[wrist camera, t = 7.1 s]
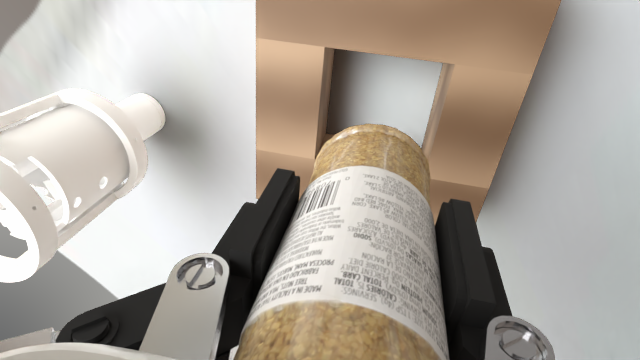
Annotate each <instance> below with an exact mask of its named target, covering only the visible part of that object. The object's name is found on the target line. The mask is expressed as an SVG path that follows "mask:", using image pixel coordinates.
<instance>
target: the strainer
mask: <svg viewBox="0 0 640 360" xmlns="http://www.w3.org/2000/svg"><path fill="white" fill-rule="evenodd" d="M27 117H28V119H27V121H24V122H22V123H20V124H17V125H15V126H13V127H10V128H8V129H6V130H3V131H1V132H0V222H1V223H2V224H3V226H4V227H8V229H9V230H10V231H11V232H12V233H11V234H10V235H12V236H14V237H17V238H20V239H24V240H26V241H27V244H28V251H27V252H25V253H24V254H23V255H22V256H20V257H19V258H17V259H14V258H8V257H5V256H1V255H0V281H1V282H18V281H22V280H25V279H27V278H29V277H30V276H31V275H32V274H34V273H35V272H36V271H37V270H38V269H40V268H41V267H42V266H43V265H44V264H45V263H47V262H48V261H49V260H50V259H51V258H52V257H53V256H54V254H55V252H56V250H57V249H59V248H60V247H61V246H62V245H63V244H65V243H66V242H67V241H68V240H69V239H71V238H72V237H73V236H74V235H75V234H76V233H78V232H79V231H80V230H81V229H82V228H84V227H85V226H86V225H87V224H88V223H90V222H91V221H92V220H93V219H94V218H96V217H97V216H98V215H99V214H100V213H101V212H103V211H104V210H105V209H106V208H107V207H109V206H110V205H111V204H112V203H113V202H115V201H116V200H117V199H119V198H121V197H123V196H125V195H126V194H128V193H129V192H130V191H131V190H132V189H134V188H135V187H136V186H137V185H138V184H139V183H140V182H141V181H142V180H143V178H144V176H145V174H146V171H147V166H148V156H147V150H146V147H145V144H144V141H145V140H146V139H147V138H149V137H150V136H152V135H153V134H155V133H156V132H158V131H159V130H161V129H162V128H163V126H164V124H165V113H164V110H163V108H162V107H161V105H160V104H159V103H158V101H157V100H155V99H154V98H153V97H151V96H149V95H147V94H143V93H137V94H134V95H132V96H130V97H128V98H127V99H125V100H123V101H121V102H119V103H117V104H114V103H112V102H111V101H109V100H108V99H106V98H104V97H103V96H101V95H99V94H96V93H94V92H91V91H88V90H84V89H76V88H71V89H64V90H61V91H58V92H56V93H53V94H50V95H48V96H45V97H42V98H40V99H37V100H35V101H32V102H29V103H27V104H24V105H22V106H19V107H16V108H14V109H11V110H9V111H6V112H3V113H1V114H0V129H1V128H3V127H6V126H8V125H10V124H13V123H15V122H17V121H20V120H22V119H25V118H27ZM127 177H128V180H127V182H126V183H125V184H124V182H123V181H124V180H125V179H126V178H127ZM30 184H31V185H32V186H33V187H41V188H43V189H44V190H45V191H46V195H45V197H47V198H49V199H50V200H52V201H54V202H52V203H51V204H49V205H48V206H46V205H45V203H44V202H43V200H42V199H41V197H40V196H39V195H38V194H37V192H36V191H35V190H34V189H33V188H32V187H31V185H30Z"/></svg>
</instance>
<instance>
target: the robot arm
mask: <svg viewBox="0 0 640 360" xmlns="http://www.w3.org/2000/svg"><path fill="white" fill-rule="evenodd" d="M299 192H300V176H295V171H292V170H286V169H281V168H277V169H276V171H275V173H274V174H273V176H272V178H271V179H270V181H269V183H268V184H267V186H266V188H265V189H264V191H263V193H262V194H261V196H260V198H259V199H258V201H257V203H256V204H254V203H249V202H246V203H244V205H243V206H242V207H241V209H240V211H239V212H238V214H237V215H236V217H235V218H234V220H233V221H232V223H231V224H230V226H229V227H228V229H227V231H226V232H225V234H224V235H223V237H222V238H221V240H220V241H219V243H218V244H217V246H216V248H215V249H214V251H213V252H212V254H210V253H198V254H194V255H191V256H188V257H186V258H184V259H182V260H181V261H179V262H178V263H177V264H176V265H175V266H174V268H173V269H172V271H171V273H170V275H169V278H168V280H167V283H164V284H161V285H158V286H156V287H153V288H150V289H147V290H145V291H142V292H139V293H136V294H133V295H131V296H128V297H125V298H122V299H120V300H117V301H114V302H111V303H109V304H106V305H103V306H101V307H98V308H95V309H92V310H90V311H87V312H85V313H83V314H81V315H78V316H77V317H75V318H74V319H72V320H71V321H70V322H68V323H67V324H66V325H65V327H64V328H63V329H62V330H60V331H56V332H54V329H53V328H48V329H44V330H40V331H36V332H33V333H29V334H25V335H21V336H17V337H14V338H9V339H6V340H2V341H0V360H233V359H234V357H235V354H236V351H237V349H238V347H239V341H240V337H241V332H242V330H243V328H244V325H245V323H246V321H247V318H248V316H249V314H250V311H251V309H252V307H253V304H254V302H255V300H256V297H257V295H258V293H259V290H260V288H261V286H262V284H263V281H264V279H265V276H266V274H267V272H268V269H269V267H270V265H271V263H272V260H273V258H274V256H275V254H276V252H277V250H278V247H279V245H280V243H281V240H282V238H283V236H284V233H285V231H286V229H287V227H288V224H289V222H290V220H291V218H292V215H293V213H294V211H295V208H296V206H297V204H298V202H299ZM435 232H436V242H437V249H438V258H439V267H440V276H441V286H442V296H443V305H444V315H445V324H446V333H447V342H448V351H449V360H555V355H554V351H553V348H552V346H551V344H550V342H549V341H548V339H547V338H546V337H545V336H544V335H543V334H542V333H541V332H540V331H539V330H538V329H537V328H536V327H534V326H533V325H531V324H530V323H528V322H526V321H524V320H522V319H520V318H516V317H512V313H511V310H510V307H509V303H508V300H507V296H506V293H505V290H504V286H503V283H502V279H501V276H500V272H499V269H498V266H497V262H496V259H495V255H494V253H493V250H492V249H491V248H486V247H482V246H481V242H480V238H479V234H478V230H477V226H476V222H475V218H474V214H473V211H472V207H471V203H470V202H468V201H462V200H457V199H450V200H449V202H448V203H447V202H443V203H442V205H441V208H440V211H439V214H438V217H437V221H436V224H435Z"/></svg>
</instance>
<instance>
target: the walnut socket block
mask: <svg viewBox="0 0 640 360" xmlns="http://www.w3.org/2000/svg"><path fill="white" fill-rule="evenodd" d="M560 3H561V0H256V199H259V198H260V196H261V194H262V193H263V191H264V189H265V188H266V186H267V184H268V183H269V181H270V179H271V178H272V176H273V174H274V173H275V171H276V169H277V168H281V169H286V170H292V171H295V176H300V192H299V200H300V198H301V196H302V194H303V192H304V191H305V190H306V188H307V187H308V184H309V182H310V179H311V176H312V174H313V170H314V164H315V160H316V158H317V155H318V154H319V152H320V150H321V148H322V147H323V145H324V144H325V143H326V142H327V141H328V140H330V139H331V138H332V137H333V136H334V135H333V134H327V133H326V128H327V118H328V109H329V99H330V90H331V80H332V70H333V61H334V51H335V48H336V49H343V50H351V51H358V52H366V53H373V54H381V55H388V56H396V57H404V58H411V59H419V60H426V61H434V62H441V63H443V66H442V70H441V73H440V77H439V81H438V85H437V89H436V93H435V97H434V101H433V105H432V109H431V113H430V117H429V121H428V124H427V128H426V132H425V136H424V140H423V144H422V148H421V150H422V152H423V153H424V155H425V156H426V158H427V159H428V163H429V170H430V176H431V181H430V189H429V196H430V206H431V211H432V214H433V218H434V224H436V221H437V217H438V214H439V211H440V208H441V205H442V203H443V202H447V203H448V202H449V200H450V199H457V200H462V201H468V202H470V203H471V207H472V211H473V214H474V218H475V222H476V221H477V219H478V216H479V213H480V211H481V208H482V206H483V203H484V200H485V198H486V195H487V193H488V190H489V187H490V185H491V182H492V180H493V177H494V174H495V172H496V169H497V167H498V164H499V161H500V159H501V156H502V154H503V151H504V148H505V146H506V143H507V141H508V138H509V135H510V133H511V130H512V128H513V125H514V122H515V120H516V117H517V115H518V112H519V109H520V107H521V104H522V102H523V99H524V96H525V94H526V91H527V88H528V86H529V83H530V81H531V78H532V75H533V73H534V70H535V68H536V65H537V62H538V60H539V57H540V55H541V52H542V49H543V47H544V44H545V42H546V39H547V36H548V34H549V31H550V29H551V26H552V23H553V21H554V18H555V16H556V13H557V10H558V8H559V5H560Z"/></svg>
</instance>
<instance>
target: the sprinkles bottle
mask: <svg viewBox="0 0 640 360" xmlns="http://www.w3.org/2000/svg"><path fill="white" fill-rule="evenodd" d="M430 181H431V176H430V170H429V163H428V159H427V158H426V156H425V155H424V153H423V152H422V150H421V148H420V147H419V145H418V144H416V143H415V142H414V140H413V139H412V138H411V137H409V136H408V135H406V134H405V133H403V132H401V131H399V130H398V129H396V128H393V127H389V126H385V125H376V124H364V125H356V126H352V127H348V128H346V129H344V130H343V131H341V132H339V133H337V134H335V135H334V136H333V137H332V138H331V139H330V140H328V141H327V142H326V143H325V144H324V145H323V147H322V148H321V150H320V152H319V154H318V155H317V158H316V160H315V164H314V170H313V174H312V176H311V179H310V182H309V184H308V187H307V188H306V190H305V191H304V192H303V194H302V196H301V198H300V200H299V202H298V204H297V206H296V208H295V211H294V213H293V215H292V218H291V220H290V222H289V224H288V227H287V229H286V231H285V233H284V236H283V238H282V240H281V243H280V245H279V247H278V250H277V252H276V254H275V256H274V258H273V260H272V263H271V265H270V267H269V269H268V272H267V274H266V276H265V279H264V281H263V284H262V286H261V288H260V290H259V293H258V295H257V297H256V300H255V302H254V304H253V307H252V309H251V311H250V314H249V316H248V318H247V321H246V323H245V325H244V328H243V330H242V332H241V337H240V341H239V347H238V349H237V351H236V354H235V357H234V359H233V360H449V351H448V342H447V333H446V324H445V315H444V305H443V296H442V286H441V276H440V267H439V258H438V249H437V242H436V232H435V224H434V218H433V214H432V211H431V206H430V196H429V189H430Z"/></svg>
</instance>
